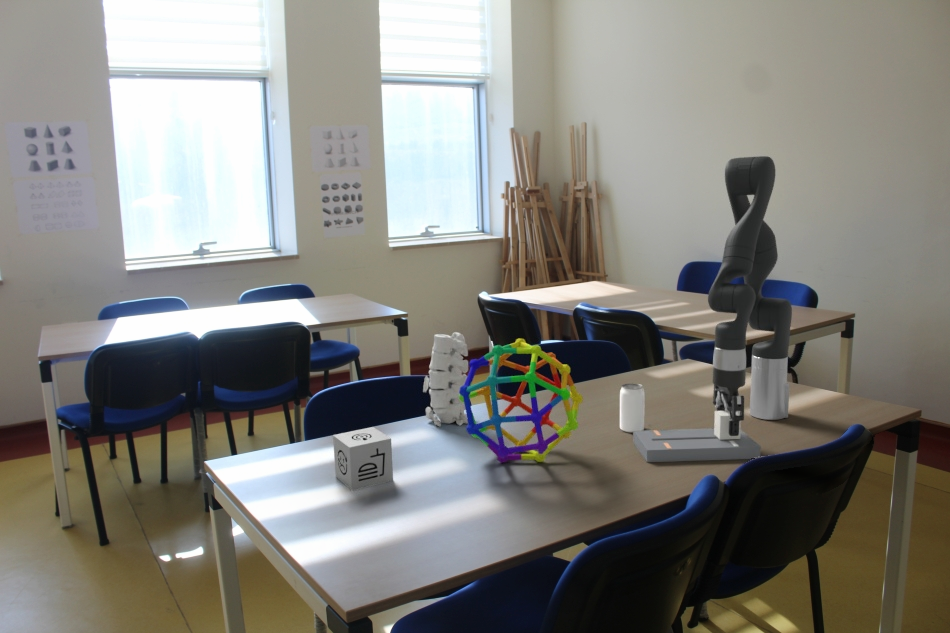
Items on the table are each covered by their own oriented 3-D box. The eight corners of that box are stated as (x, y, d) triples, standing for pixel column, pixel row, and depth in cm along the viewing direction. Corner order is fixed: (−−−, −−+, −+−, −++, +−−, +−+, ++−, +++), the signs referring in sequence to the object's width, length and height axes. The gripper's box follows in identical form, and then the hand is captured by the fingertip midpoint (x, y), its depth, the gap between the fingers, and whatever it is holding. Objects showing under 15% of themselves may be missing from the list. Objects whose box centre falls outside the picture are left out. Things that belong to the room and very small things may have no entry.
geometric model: (609, 353, 181) (498, 315, 189) (587, 378, 153) (458, 331, 161) (573, 462, 187) (467, 420, 195) (546, 504, 159) (424, 453, 168)
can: (644, 433, 192) (645, 389, 190) (619, 432, 194) (619, 389, 191) (643, 425, 198) (644, 383, 196) (619, 424, 200) (620, 382, 198)
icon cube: (393, 480, 166) (391, 438, 164) (351, 490, 161) (349, 447, 159) (375, 466, 174) (373, 426, 173) (335, 476, 169) (333, 435, 167)
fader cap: (734, 433, 181) (734, 410, 180) (740, 438, 177) (741, 415, 176) (714, 434, 181) (714, 410, 180) (719, 439, 177) (720, 415, 176)
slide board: (738, 438, 186) (738, 427, 186) (760, 458, 173) (760, 446, 172) (633, 442, 186) (633, 430, 186) (646, 462, 172) (647, 449, 172)
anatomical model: (478, 422, 205) (475, 335, 201) (438, 430, 200) (435, 340, 195) (461, 412, 215) (459, 329, 210) (423, 419, 209) (420, 334, 205)
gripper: (756, 372, 169) (753, 439, 172) (733, 358, 183) (731, 420, 186) (724, 373, 169) (722, 440, 172) (704, 359, 183) (702, 421, 186)
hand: (727, 429), depth 179 cm, fingers open, 8 cm apart
